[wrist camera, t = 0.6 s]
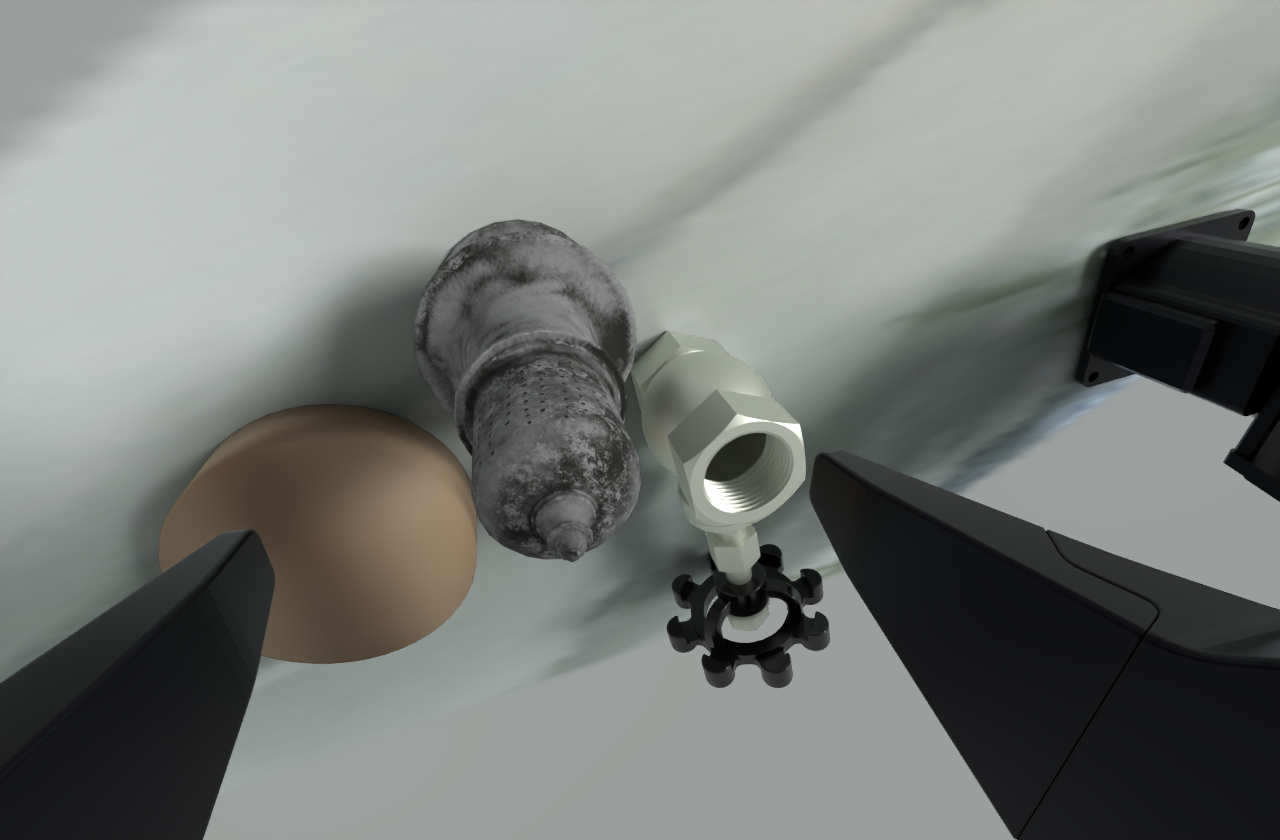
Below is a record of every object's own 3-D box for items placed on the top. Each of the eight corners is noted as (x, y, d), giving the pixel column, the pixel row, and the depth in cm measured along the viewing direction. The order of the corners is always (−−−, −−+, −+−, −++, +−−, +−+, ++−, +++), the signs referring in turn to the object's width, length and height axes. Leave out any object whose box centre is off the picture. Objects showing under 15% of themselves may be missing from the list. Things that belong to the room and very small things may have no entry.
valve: (575, 353, 20) (651, 587, 26) (613, 453, 14) (698, 721, 20) (753, 296, 20) (785, 538, 26) (857, 369, 15) (867, 655, 21)
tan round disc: (428, 374, 19) (422, 408, 16) (505, 570, 23) (508, 617, 21) (133, 446, 17) (84, 493, 15) (276, 637, 22) (253, 694, 20)
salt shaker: (382, 273, 17) (228, 532, 7) (552, 170, 17) (666, 273, 6) (497, 418, 20) (513, 747, 10) (642, 333, 20) (815, 577, 9)
